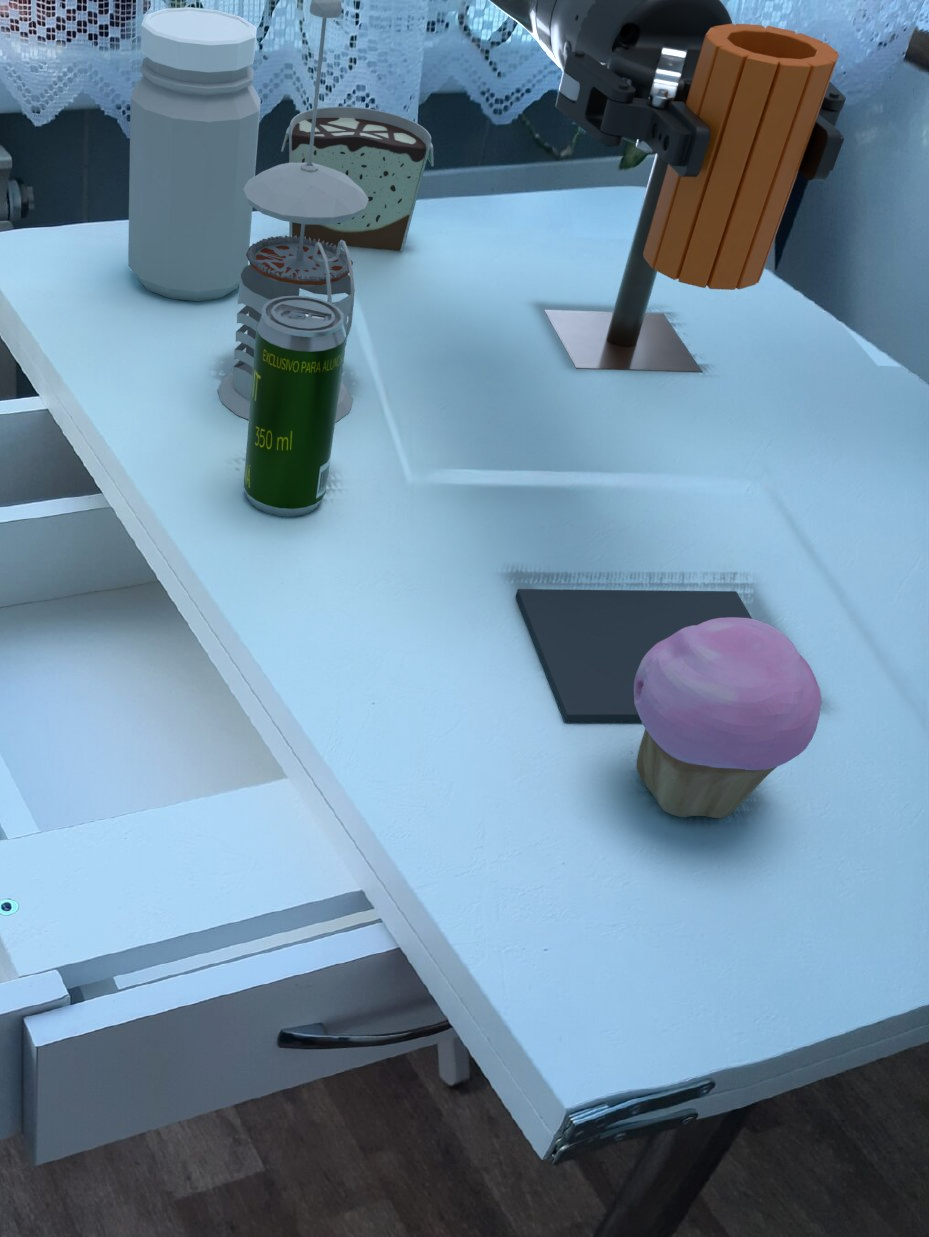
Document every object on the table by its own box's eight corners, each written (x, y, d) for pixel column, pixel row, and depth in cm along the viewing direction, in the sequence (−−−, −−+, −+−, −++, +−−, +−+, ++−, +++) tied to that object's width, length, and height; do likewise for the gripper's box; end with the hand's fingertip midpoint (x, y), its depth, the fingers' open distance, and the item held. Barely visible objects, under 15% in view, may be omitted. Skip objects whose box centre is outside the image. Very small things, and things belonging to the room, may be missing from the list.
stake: (659, 328, 112) (719, 126, 102) (698, 387, 106) (767, 177, 95) (540, 324, 111) (588, 119, 100) (572, 383, 105) (627, 171, 94)
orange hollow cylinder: (695, 233, 74) (762, 18, 67) (784, 276, 71) (864, 56, 64) (620, 253, 71) (680, 31, 64) (709, 299, 68) (783, 72, 61)
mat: (733, 599, 86) (736, 590, 86) (804, 722, 78) (808, 714, 78) (515, 597, 84) (517, 588, 84) (564, 723, 76) (567, 714, 76)
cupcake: (742, 744, 76) (810, 590, 69) (792, 856, 70) (872, 700, 63) (585, 740, 75) (637, 583, 68) (621, 852, 70) (682, 694, 62)
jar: (108, 290, 109) (110, 29, 96) (152, 245, 116) (159, -4, 103) (225, 316, 108) (243, 55, 95) (263, 269, 114) (285, 19, 101)
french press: (318, 357, 104) (365, -34, 86) (387, 432, 97) (454, 23, 79) (197, 371, 101) (219, -31, 83) (259, 450, 94) (298, 29, 76)
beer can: (328, 482, 92) (352, 301, 83) (319, 524, 88) (343, 340, 79) (248, 470, 92) (264, 289, 83) (236, 512, 88) (251, 327, 80)
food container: (413, 238, 121) (433, 113, 114) (417, 267, 117) (438, 139, 110) (273, 225, 121) (284, 98, 114) (271, 253, 117) (283, 123, 109)
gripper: (530, -44, 72) (645, 62, 61) (782, -30, 75) (936, 74, 64) (498, 114, 78) (599, 237, 67) (734, 122, 80) (869, 242, 69)
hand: (763, 157), depth 65 cm, fingers closed on orange hollow cylinder, 6 cm apart
